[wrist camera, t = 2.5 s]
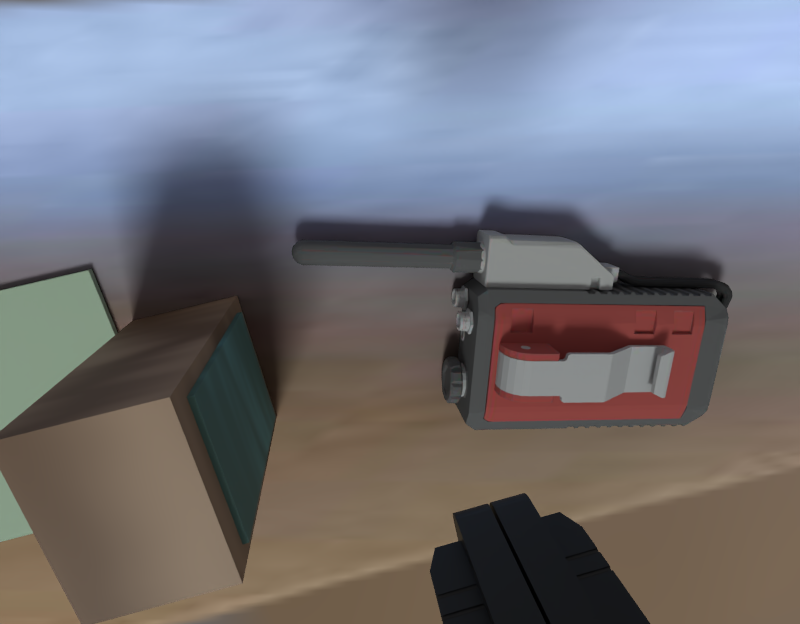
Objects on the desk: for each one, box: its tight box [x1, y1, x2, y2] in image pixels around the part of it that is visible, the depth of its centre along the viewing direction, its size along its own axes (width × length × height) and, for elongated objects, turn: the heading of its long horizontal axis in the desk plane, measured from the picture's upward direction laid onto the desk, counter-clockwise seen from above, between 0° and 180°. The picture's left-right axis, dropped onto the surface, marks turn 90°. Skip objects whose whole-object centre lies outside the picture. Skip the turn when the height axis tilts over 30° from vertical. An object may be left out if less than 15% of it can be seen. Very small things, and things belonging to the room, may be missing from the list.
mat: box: [0, 269, 118, 542], centre depth 23 cm, size 12×11×1 cm
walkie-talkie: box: [292, 230, 732, 430], centre depth 23 cm, size 9×4×20 cm
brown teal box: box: [0, 296, 276, 624], centre depth 19 cm, size 5×6×10 cm
